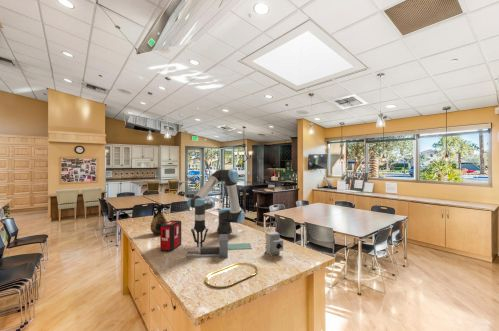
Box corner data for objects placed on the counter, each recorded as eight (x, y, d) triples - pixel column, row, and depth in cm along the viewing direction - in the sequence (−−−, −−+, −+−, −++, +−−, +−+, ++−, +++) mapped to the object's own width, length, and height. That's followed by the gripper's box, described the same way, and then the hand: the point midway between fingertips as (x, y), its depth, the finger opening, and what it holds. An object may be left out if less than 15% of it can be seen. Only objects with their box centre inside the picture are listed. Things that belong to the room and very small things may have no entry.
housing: (188, 251, 176) (188, 235, 176) (227, 249, 179) (227, 233, 179) (185, 259, 161) (185, 241, 161) (227, 257, 164) (227, 240, 164)
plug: (201, 253, 172) (201, 240, 172) (228, 252, 174) (228, 239, 174) (200, 255, 167) (200, 242, 167) (228, 254, 169) (228, 241, 169)
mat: (226, 244, 191) (226, 243, 191) (250, 243, 193) (250, 243, 193) (226, 249, 179) (226, 249, 179) (251, 248, 181) (251, 248, 181)
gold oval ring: (199, 280, 133) (199, 277, 133) (244, 262, 157) (244, 260, 157) (218, 293, 119) (218, 290, 119) (264, 271, 143) (264, 269, 143)
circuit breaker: (275, 258, 163) (275, 237, 163) (265, 251, 175) (265, 232, 175) (284, 256, 166) (284, 235, 166) (273, 250, 179) (273, 230, 179)
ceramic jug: (167, 231, 229) (167, 201, 229) (167, 235, 214) (167, 203, 214) (149, 232, 223) (149, 202, 223) (147, 237, 209) (147, 204, 209)
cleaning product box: (171, 244, 192) (171, 220, 192) (181, 244, 190) (181, 220, 190) (160, 251, 176) (160, 225, 176) (170, 252, 174) (171, 225, 174)
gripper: (190, 220, 165) (189, 253, 165) (208, 220, 166) (208, 253, 166) (191, 218, 173) (191, 249, 173) (209, 218, 174) (209, 249, 174)
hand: (199, 251), depth 169 cm, fingers closed
